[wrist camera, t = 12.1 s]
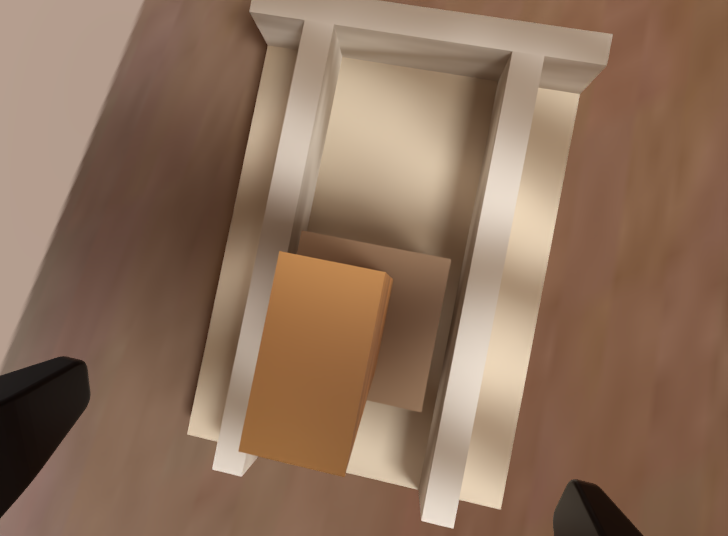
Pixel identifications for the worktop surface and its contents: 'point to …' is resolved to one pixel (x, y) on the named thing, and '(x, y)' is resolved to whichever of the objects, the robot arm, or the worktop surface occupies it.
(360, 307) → the tan wooden block
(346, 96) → the lane tray
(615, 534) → the robot arm
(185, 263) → the worktop surface
